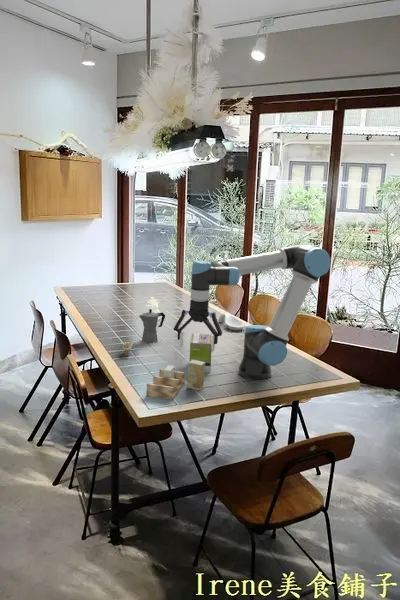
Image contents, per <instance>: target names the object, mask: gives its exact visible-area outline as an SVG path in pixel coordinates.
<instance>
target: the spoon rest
mask: <svg viewBox="0 0 400 600" xmlns="http://www.w3.org/2000/svg"><path fill="white" fill-rule="evenodd" d="M217 321H218V323H225V325H226V327H227V328H228V329H229V330H231V331H235V332H236V331H241V330H243V329H244V328H246V327H245V326H246V325H245V323H244V322H242V321H240V320H239V319H238V318H236V317H235V316H234V315H231V314H230V313H222V314H220V316H219V318H218V319H217Z"/></svg>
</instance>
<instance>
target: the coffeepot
mask: <svg viewBox="0 0 400 600" xmlns="http://www.w3.org/2000/svg"><path fill="white" fill-rule="evenodd" d="M148 311H149V312H143V313H142V314H140V315H138V317H139V318H140V319H141V322H142V324H143V332H142V337H141V338H142V339H141V342H143V343H145V342H146V344H154V343H153V342H155V343H157V342H158V340H159V339H158V334H157V333H158V332H157V327H158V328H162V327H163V324H164V321H165V319H166V315H165V313H164V312H153V309H148ZM159 317H161V320H160V323H159V325H158V321H159V320H158V319H159Z"/></svg>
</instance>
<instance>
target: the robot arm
mask: <svg viewBox="0 0 400 600" xmlns="http://www.w3.org/2000/svg"><path fill="white" fill-rule="evenodd" d="M330 268H331V257H330V255H329V253H328V252H327V251H326V250H325V249H323V248H321V247H318V246H314V245H310V244H305V243H302V244H295V245H290V246H286V247H281V248H278V250H276V251H270V252H264V253H259V254H254V255H248V256H243V257H236V258H232V259H225V260H219V261H217V260H211V261H208V260H207V261H206V260H196V261H194V262H193V263H192V266H191V272H190V273H191V281H190V282H191V283H190V301H189V309H186V308H183V309H182V310H181V315H180V317H178V319H177V320H178V321H177V322H176V324H175V326H173V327H174V328H173V331H174V332H177V340H179V345H178V347H179V349H182V348H183V347H184V331H183V330H184V329H185V328H186V327H187V326H188V325H189V324H190V323H192V321H193V323H194V322H195V323H204V324H205V325H206V327H207V328H208V330H209V331H210V333H211V335H212V336H211V338H212V348H211V353H214V352H215V348H216V345H217V344H218V339H219V338H218V337H221V336H222V335H223V330H222V327H221V326H220V322H218V318H217V313H216V311H213V312H209V306H210V305H209V302H210V301H209V299H210V286H237V285H238V284H239V282H240V277H241V276H242V275H247V274H248V275H249V274H254V273H259V272H264V271H269V270H270V271H271V270H276V269H282V270H288V269H290V270H291V273H292V277H291V280H290V282H289V284H288V287H287V289H285V292H284V294H283V297H282V299H281V300H280V303H279V305H278V307H277V309H276V311H275V313H274V316H273V318H272V320H271V322H270V324H269V325H263V324H262V325H261V324H253V325H252V324H251V325H247V326H246V327H245V329H244V340H243V342H244V343H243V353H242V354H243V355H242V359H241V360H240V363H239V365H238V374H239V376H241V377H243V378H246V379H250V380H251V379H252V380H265V379H268V378H270V377H271V376H272V368H271V366H273V367H274V366H277V365H280V364H282V363H283V362H284V361H285V359H286V358H287V356H288V349H287V344H288V343H289V340H290V338H289V336H288V334H289V333H290V330H291V328H292V326H293V324H294V322H295V320H296V319H297V316H298V314H299V312H300V310H301V308H302V305H303V303H304V301H305V300H306V298H307V295H308V293H309V291H310V290H311V288H312V285H313V284H317V283H318V281H319V279H320V277H322V276H325V275H326V274H327V273H328V272H329V270H330ZM187 315H189V317H190V318H188V320H187V321H185V323H183V320H184V319H185V317H186V316H187ZM208 317H210V318H211V320H212V323H213V324H212V323H211V322H210V320H209V318H208ZM182 323H183V325H181V324H182ZM213 325H214V326H213ZM180 326H181V327H180Z"/></svg>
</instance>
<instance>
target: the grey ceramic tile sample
mask: <svg viewBox="0 0 400 600" xmlns="http://www.w3.org/2000/svg"><path fill="white" fill-rule="evenodd" d="M163 370H164V377H165V378H172V379H174V377H175V371H176V366H175V365H172V364H170V365H169V364H167V365H166V367H165V368H164V369H163Z"/></svg>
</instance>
